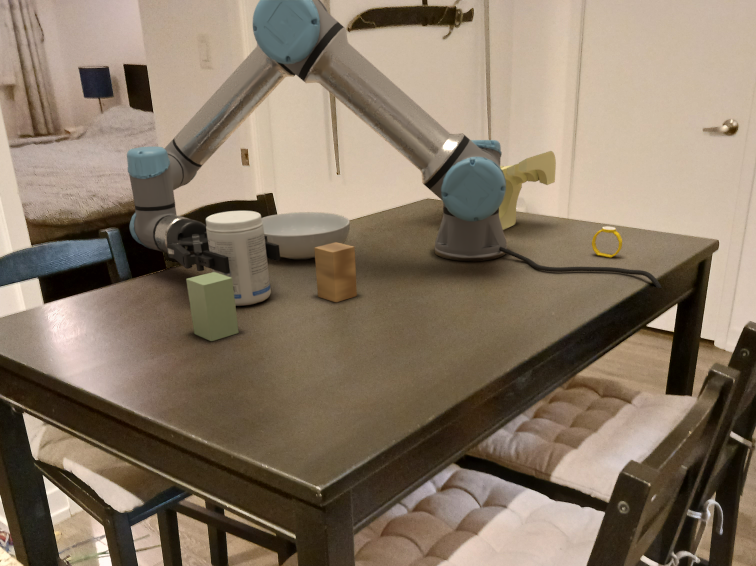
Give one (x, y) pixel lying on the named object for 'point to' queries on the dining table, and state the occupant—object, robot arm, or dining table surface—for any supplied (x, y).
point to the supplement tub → (241, 253)
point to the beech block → (336, 271)
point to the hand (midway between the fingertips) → (253, 259)
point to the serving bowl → (304, 232)
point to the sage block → (212, 306)
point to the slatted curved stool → (519, 173)
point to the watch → (607, 230)
